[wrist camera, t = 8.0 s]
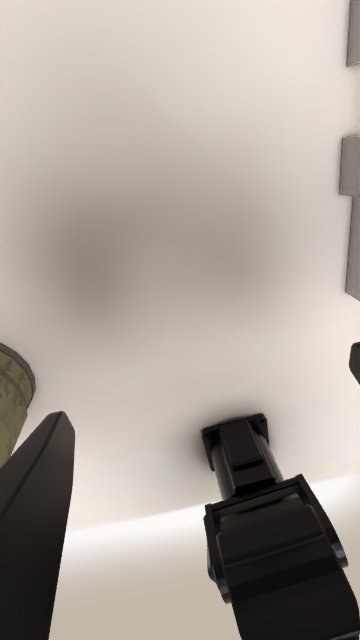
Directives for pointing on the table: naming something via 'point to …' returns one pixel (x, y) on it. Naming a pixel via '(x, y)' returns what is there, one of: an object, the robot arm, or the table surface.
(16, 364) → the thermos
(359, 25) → the chain end
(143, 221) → the table surface
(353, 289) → the chain end
